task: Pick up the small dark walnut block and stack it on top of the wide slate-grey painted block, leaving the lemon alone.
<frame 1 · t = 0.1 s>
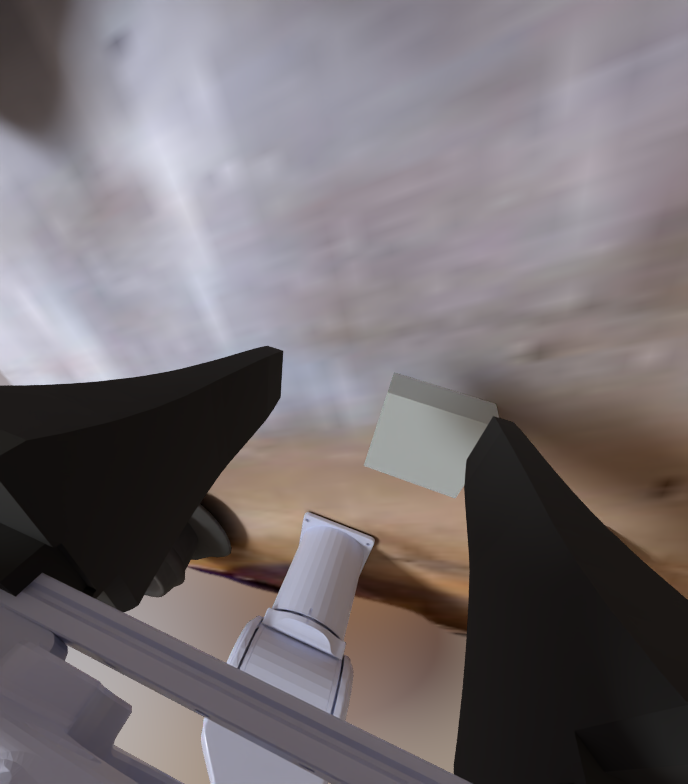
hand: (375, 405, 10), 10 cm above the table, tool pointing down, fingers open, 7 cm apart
casserole: (165, 506, 43), on the table
grey block: (426, 422, 22), on the table
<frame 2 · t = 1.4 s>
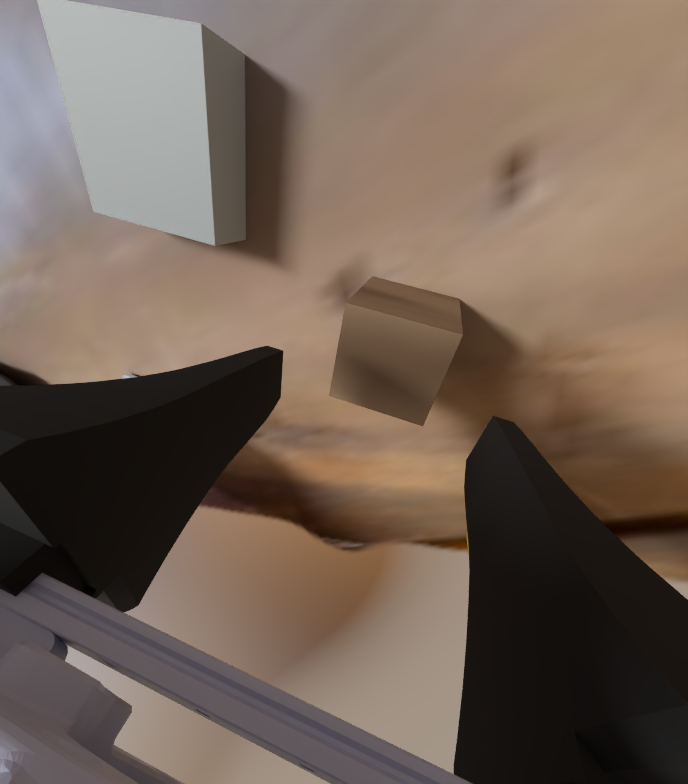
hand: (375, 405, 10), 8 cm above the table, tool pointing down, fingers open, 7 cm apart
walnut block: (402, 328, 16), on the table
grey block: (187, 146, 15), on the table
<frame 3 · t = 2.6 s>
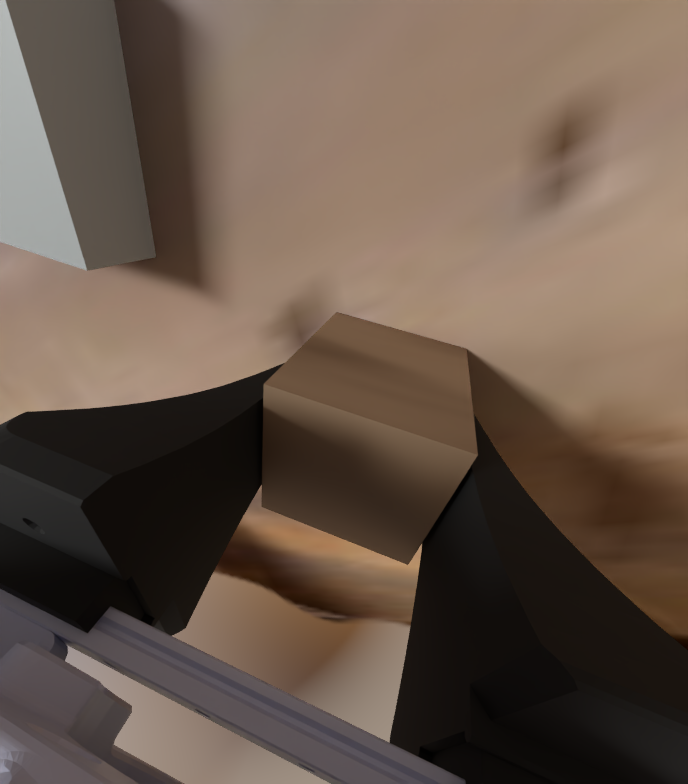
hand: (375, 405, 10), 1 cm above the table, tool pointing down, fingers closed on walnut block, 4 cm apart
walnut block: (383, 384, 11), on the table, touching gripper
grey block: (56, 117, 10), on the table
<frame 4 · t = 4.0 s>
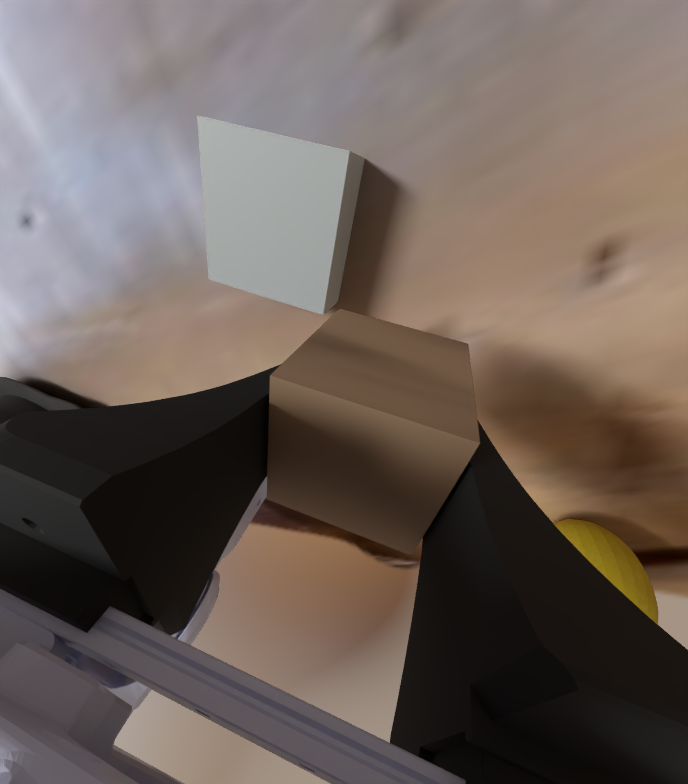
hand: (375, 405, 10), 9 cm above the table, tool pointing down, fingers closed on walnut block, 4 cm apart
walnut block: (385, 380, 11), point 7 cm above the table, touching gripper
casserole: (71, 432, 38), on the table
grey block: (293, 222, 17), on the table
lemon: (567, 517, 22), on the table
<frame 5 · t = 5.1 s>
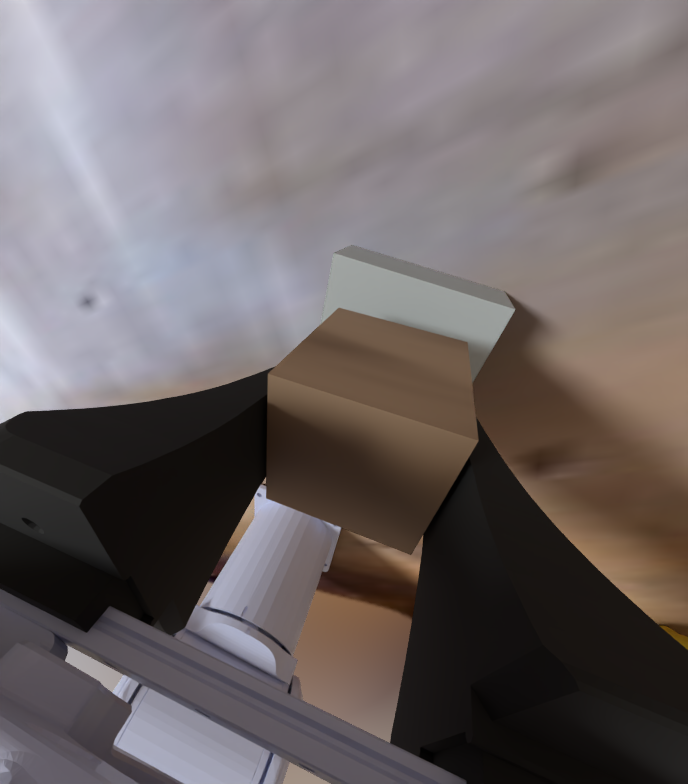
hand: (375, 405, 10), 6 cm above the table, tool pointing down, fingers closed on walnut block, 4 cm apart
walnut block: (385, 379, 11), point 5 cm above the table, touching gripper
grey block: (401, 335, 15), on the table
when the fingers open (6 cm above the table, at t = 5.7 s): walnut block drops 1 cm, point 3 cm above the table.
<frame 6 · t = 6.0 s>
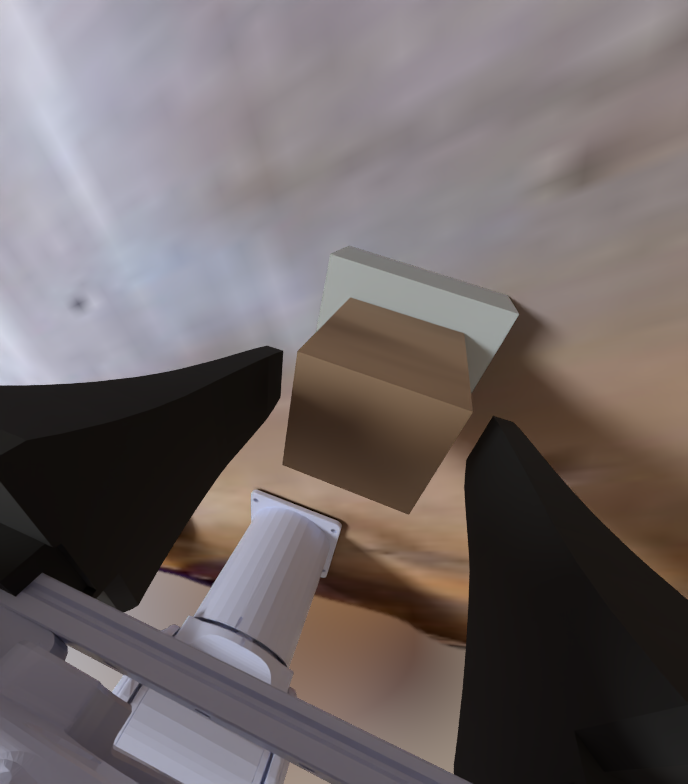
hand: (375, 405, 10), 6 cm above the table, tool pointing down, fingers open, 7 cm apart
walnut block: (388, 364, 13), point 3 cm above the table
grey block: (400, 338, 15), on the table
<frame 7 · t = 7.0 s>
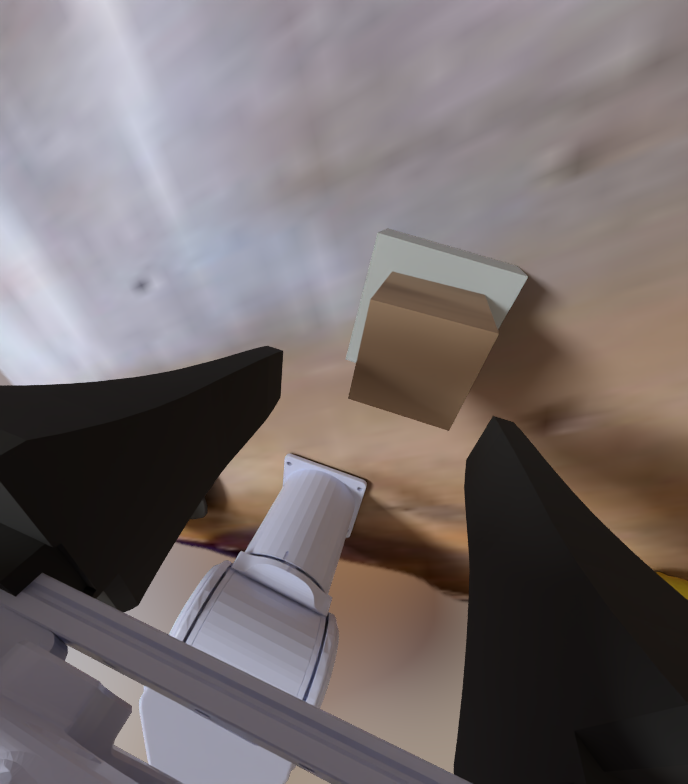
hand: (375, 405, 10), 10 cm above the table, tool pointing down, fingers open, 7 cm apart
walnut block: (422, 326, 16), point 3 cm above the table, touching grey block
grey block: (426, 307, 18), on the table, touching walnut block
lemon: (655, 570, 23), on the table
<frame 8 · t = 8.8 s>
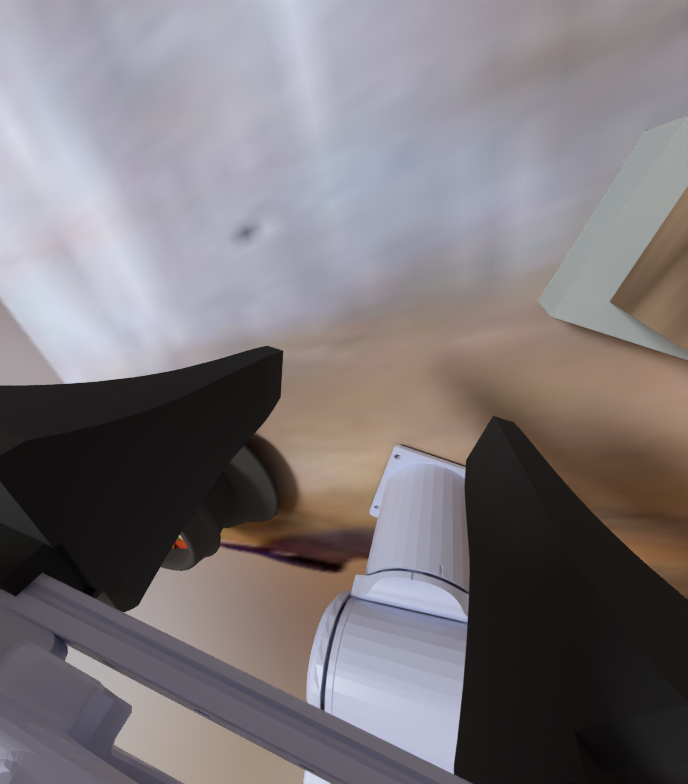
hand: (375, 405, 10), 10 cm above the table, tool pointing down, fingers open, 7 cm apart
casserole: (190, 459, 34), on the table
grey block: (657, 250, 14), on the table, touching walnut block
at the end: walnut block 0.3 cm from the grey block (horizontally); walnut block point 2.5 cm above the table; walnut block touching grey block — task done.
